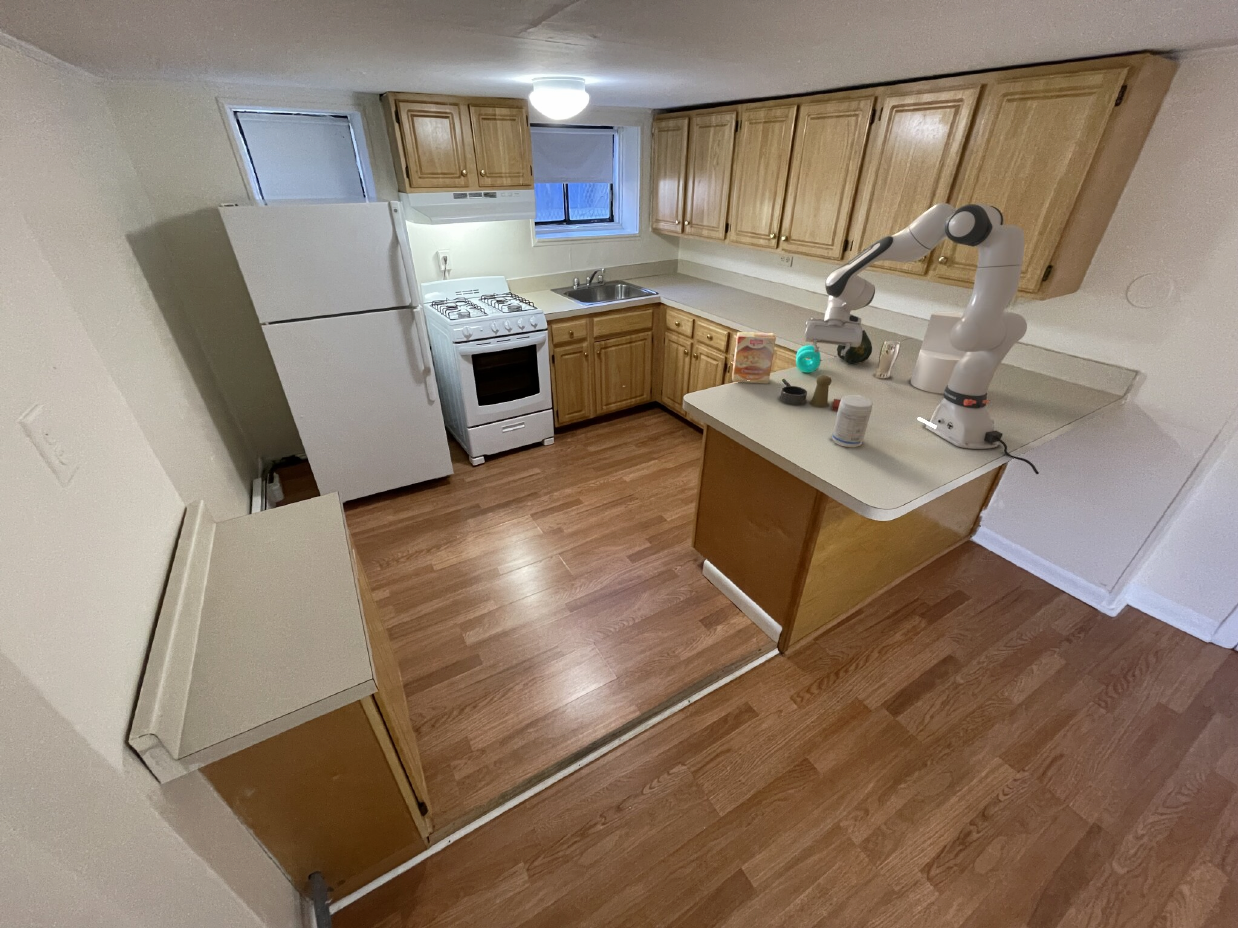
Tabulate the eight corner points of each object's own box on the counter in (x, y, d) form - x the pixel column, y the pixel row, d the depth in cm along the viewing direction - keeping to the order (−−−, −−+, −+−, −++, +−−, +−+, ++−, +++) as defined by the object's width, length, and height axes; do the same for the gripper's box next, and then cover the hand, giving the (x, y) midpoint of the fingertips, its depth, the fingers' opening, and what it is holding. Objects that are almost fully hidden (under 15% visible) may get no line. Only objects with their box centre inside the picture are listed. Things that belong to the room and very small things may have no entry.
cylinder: (912, 375, 220) (932, 309, 205) (958, 382, 212) (982, 315, 198) (908, 388, 207) (930, 319, 192) (957, 397, 199) (983, 325, 185)
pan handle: (791, 389, 199) (791, 385, 199) (787, 389, 199) (788, 385, 199) (784, 381, 206) (785, 378, 205) (781, 381, 206) (781, 378, 205)
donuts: (794, 372, 223) (798, 350, 218) (794, 364, 231) (798, 343, 226) (818, 374, 220) (822, 352, 215) (817, 367, 228) (822, 345, 223)
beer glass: (893, 380, 215) (903, 345, 207) (875, 378, 216) (885, 344, 208) (889, 374, 221) (899, 340, 213) (872, 373, 222) (881, 339, 214)
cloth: (833, 402, 195) (834, 398, 194) (852, 405, 193) (853, 401, 192) (832, 410, 189) (833, 406, 188) (852, 413, 186) (853, 409, 186)
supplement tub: (838, 432, 173) (848, 392, 166) (866, 441, 168) (878, 399, 160) (826, 441, 167) (836, 400, 160) (855, 451, 162) (866, 409, 154)
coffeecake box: (732, 382, 213) (738, 336, 203) (731, 376, 219) (736, 331, 209) (769, 384, 211) (776, 337, 201) (767, 377, 217) (774, 332, 207)
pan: (808, 405, 193) (810, 395, 191) (784, 405, 192) (786, 395, 190) (800, 395, 201) (802, 385, 199) (776, 395, 200) (778, 386, 198)
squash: (831, 352, 229) (861, 329, 221) (830, 344, 241) (859, 322, 233) (852, 375, 230) (882, 353, 222) (850, 365, 243) (878, 344, 235)
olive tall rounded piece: (816, 407, 191) (822, 380, 185) (807, 401, 196) (813, 374, 190) (830, 406, 192) (837, 378, 186) (821, 399, 197) (827, 372, 191)
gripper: (808, 313, 194) (801, 346, 191) (866, 319, 187) (859, 352, 184) (806, 322, 199) (799, 354, 197) (863, 328, 193) (856, 360, 190)
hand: (829, 353), depth 190 cm, fingers open, 8 cm apart
